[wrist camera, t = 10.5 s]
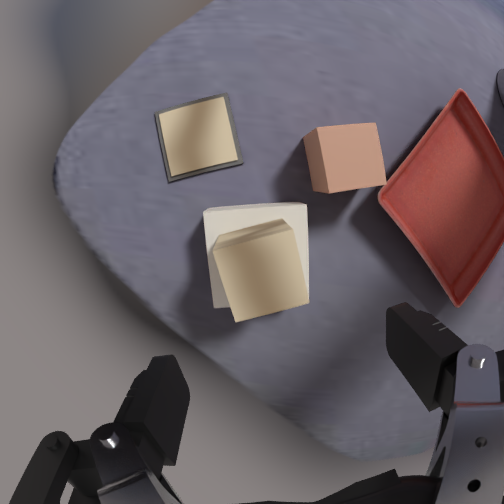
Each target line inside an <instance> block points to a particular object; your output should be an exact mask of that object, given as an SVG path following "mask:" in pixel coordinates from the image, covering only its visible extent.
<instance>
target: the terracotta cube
mask: <svg viewBox="0 0 504 504" xmlns="http://www.w3.org/2000/svg"><path fill="white" fill-rule="evenodd" d="M303 141H304V146H305V150H306V155H307V161H308V166H309V171H310V176H311V182H312V187H313V191H316V192H323V193H335V192H341V191H347V190H353V189H360V188H366V187H373V186H380V185H387V182H386V175H385V169H384V163H383V157H382V152H381V146H380V141H379V136H378V131H377V127H376V123H362V124H348V125H336V126H326V127H317V128H315V129H314V130H312V131H311V132H310V133H308V134H307V135H305V136H304V137H303Z"/></svg>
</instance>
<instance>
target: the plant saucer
mask: <svg viewBox="0 0 504 504" xmlns="http://www.w3.org/2000/svg"><path fill="white" fill-rule="evenodd" d="M377 199H378V202H379V204H380V205H381V206H382V207H383V209H384V210H385V211H386V212H387V213H388V215H389V216H390V217H391V218H392V219H393V221H394V222H395V223H396V224H397V226H398V227H399V228H400V229H401V230H402V232H403V233H404V234H405V236H406V237H407V238H408V239H409V241H410V242H411V243H412V245H413V246H414V247H415V249H416V250H417V251H418V253H419V254H420V255H421V257H422V258H423V260H424V261H425V262H426V264H427V265H428V267H429V268H430V270H431V271H432V273H433V274H434V275H435V277H436V278H437V280H438V281H439V283H440V284H441V286H442V287H443V289H444V290H445V292H446V294H447V295H448V297H449V299H450V300H451V302H452V303H453V305H454V306H455V307H457V308H459V307H460V306H461V305H462V304H463V303H464V301H465V300H466V299H467V297H468V296H469V295H470V293H471V292H472V291H473V289H474V288H475V286H476V285H477V283H478V282H479V281H480V279H481V278H482V276H483V275H484V273H485V272H486V270H487V269H488V267H489V265H490V264H491V262H492V261H493V259H494V258H495V256H496V254H497V252H498V251H499V249H500V248H501V246H502V244H503V242H504V157H503V155H502V153H501V151H500V149H499V147H498V145H497V143H496V141H495V139H494V137H493V136H492V134H491V132H490V130H489V129H488V127H487V125H486V124H485V122H484V120H483V119H482V117H481V115H480V114H479V112H478V110H477V109H476V107H475V106H474V104H473V103H472V101H471V100H470V98H469V97H468V95H467V94H466V93H465V91H464V90H463V89H460V88H459V89H458V90H457V91H456V92H455V94H454V95H453V96H452V98H451V99H450V100H449V102H448V103H447V104H446V106H445V107H444V109H443V110H442V111H441V113H440V114H439V115H438V117H437V118H436V119H435V121H434V122H433V123H432V125H431V126H430V128H429V129H428V130H427V132H426V133H425V134H424V136H423V137H422V138H421V139H420V141H419V142H418V143H417V145H416V146H415V147H414V149H413V150H412V151H411V152H410V154H409V155H408V156H407V158H406V159H405V160H404V161H403V163H402V164H401V165H400V166H399V167H398V169H397V170H396V171H395V172H394V174H393V175H392V176H391V177H390V178H389V180H388V181H387V185H384V186H383V187H382V188H381V189H380V190H379V192H378V195H377Z"/></svg>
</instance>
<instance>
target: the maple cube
mask: <svg viewBox="0 0 504 504" xmlns="http://www.w3.org/2000/svg"><path fill="white" fill-rule="evenodd" d="M213 254H214V258H215V261H216V264H217V267H218V270H219V273H220V277H221V280H222V283H223V286H224V289H225V292H226V295H227V298H228V301H229V304H230V307H231V310H232V313H233V316H234V319H235V322H239V321H243V320H247V319H251V318H255V317H259V316H263V315H267V314H271V313H275V312H278V311H282V310H286V309H290V308H293V307H297V306H300V305H304V304H307V303H310V302H309V298H308V293H307V288H306V283H305V279H304V274H303V270H302V265H301V261H300V256H299V252H298V248H297V243H296V239H295V235H294V231H293V229H292V228H291V227H290V226H289V225H288V224H287V223H286V222H285V221H284V220H283V219H282V218H280V219H277V220H273V221H269V222H265V223H262V224H258V225H254V226H250V227H247V228H243V229H239V230H236V231H232V232H228V233H225V234H221V235H219V237H218V239H217V241H216V244H215V246H214V249H213Z"/></svg>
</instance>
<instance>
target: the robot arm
mask: <svg viewBox="0 0 504 504" xmlns="http://www.w3.org/2000/svg"><path fill="white" fill-rule="evenodd" d="M497 83H498V89H499V93H500V97H501V100H502V102H503V105H504V69H501V70H500V71H499V72H498V76H497ZM386 347H387V351H388V354H389V356H390V358H391V359H392V360H393V362H394V363H395V364H396V366H397V367H398V368H399V370H400V371H401V373H402V374H403V375H404V377H405V378H406V380H407V381H408V382H409V384H410V385H411V386H412V388H413V389H414V391H415V392H416V393H417V395H418V396H419V398H420V399H421V401H422V402H423V403H424V405H425V406H426V408H427V409H428V411H429V412H430V411H432V410H434V409H436V408H438V407H441V408H442V410H443V412H442V415H441V420H440V425H439V430H438V435H437V439H436V444H435V448H434V452H433V455H432V459H431V462H430V465H429V467H428V470H427V472H426V475H425V476H423V475H412V476H402V477H398V475H397V473H396V470H395V469H393V470H390V471H387V472H385V473H382V474H380V475H377V476H374V477H371V478H368V479H365V480H362V481H359V482H356V483H354V484H352V485H350V486H348V487H346V488H344V489H342V490H340V491H338V492H336V493H334V494H332V495H330V496H328V497H326V498H324V499H321V500H319V501H316V502H309V503H307V502H304V503H303V502H276V501H264V502H255V503H241V504H504V496H503V492H504V350H501V351H498V352H494V350H492V349H491V348H490V347H488V346H485V345H481V344H472V345H467V344H466V343H465V342H463V341H462V340H461V339H460V338H459V337H458V336H456V335H455V334H454V333H453V332H452V331H451V330H449V329H448V328H446V326H445V325H443V324H442V323H440V322H439V320H437V319H436V318H435V317H434V316H433V315H431V314H429V313H426V312H423V311H416V310H415V309H414V308H413V307H412V306H410V305H409V304H408V303H406V302H405V303H402V304H398V305H395V306H392V307H389V308H388V309H387V311H386ZM189 401H190V392H189V388H188V385H187V382H186V380H185V378H184V376H183V374H182V371H181V369H180V367H179V365H178V362H177V360H176V358H175V357H174V356H173V355H164V356H155V357H153V358H152V360H151V362H150V364H149V366H148V368H147V370H143V371H142V372H141V373H140V374H139V375H138V376H137V377H136V378H135V379H134V381H133V383H132V385H131V387H130V390H129V391H128V393H127V397H125V399H124V401H123V403H122V405H121V407H120V409H119V412H118V414H117V416H116V418H115V420H114V422H112V423H107V424H104V425H102V426H100V427H99V428H97V429H96V430H95V431H94V432H93V433H92V435H91V437H90V439H88V440H82V441H75V442H73V441H72V440H71V438H70V437H69V436H68V435H67V434H66V433H65V432H62V431H55V432H52V433H50V434H48V435H47V436H45V437H44V438H43V439H42V441H41V442H40V444H39V446H38V447H37V449H36V451H35V453H34V455H33V457H32V458H31V460H30V462H29V464H28V466H27V468H26V470H25V472H24V474H23V476H22V478H21V480H20V482H19V484H18V486H17V488H16V490H15V492H14V494H13V496H12V498H11V500H10V503H9V504H60V498H61V496H62V493H63V490H64V488H65V485H66V483H67V481H68V482H69V483H70V484H71V485H72V486H73V487H74V489H73V492H72V495H71V497H70V500H69V503H68V504H184V503H183V502H182V500H181V499H180V497H179V496H178V495H177V493H176V492H175V490H174V489H173V488H172V486H171V485H170V483H169V482H168V480H167V479H166V477H165V476H164V475H163V473H162V468H163V465H167V466H168V465H169V466H175V465H176V460H177V455H178V451H179V445H180V441H181V437H182V432H183V428H184V423H185V418H186V414H187V410H188V406H189Z"/></svg>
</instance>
